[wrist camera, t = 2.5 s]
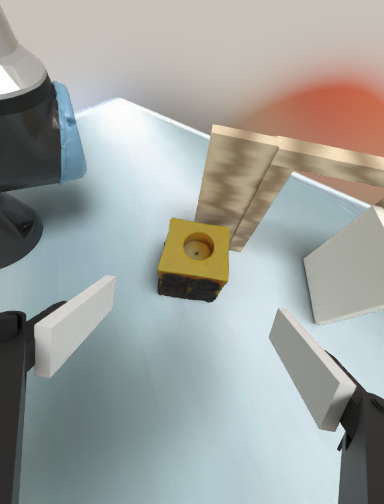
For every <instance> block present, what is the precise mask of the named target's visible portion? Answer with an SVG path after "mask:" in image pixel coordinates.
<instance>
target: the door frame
mask: <svg viewBox="0 0 384 504" xmlns="http://www.w3.org/2000/svg"><path fill="white" fill-rule="evenodd" d="M294 169H296V170H300V171H305V172H310V173H315V174H320V175H325V176H330V177H334V178H339V179H344V180H349V181H354V182H359V183H364V184H369V185H373V186H378V187H383V188H384V158H383V157H378V156H373V155H369V154H364V153H359V152H354V151H350V150H345V149H340V148H335V147H330V146H325V145H320V144H315V143H311V142H306V141H301V140H296V139H292V138H287V137H282V136H276V137H272V136H267V135H262V134H258V133H253V132H248V131H243V130H238V129H234V128H229V127H224V126H219V125H213V127H212V132H211V137H210V142H209V148H208V153H207V158H206V164H205V169H204V174H203V179H202V185H201V190H200V195H199V200H198V206H197V211H196V216H195V221H194V222H196V223H202V224H208V225H215V226H223V227H228V228H229V229H230V239H229V250H233V251H238V252H241V250H242V249H243V247H244V246H245V244H246V243H247V241H248V240H249V238H250V237H251V235H252V234H253V232H254V230H255V229H256V227H257V226H258V224H259V223H260V221H261V220H262V218H263V217H264V215H265V214H266V212H267V210H268V209H269V207H270V206H271V204H272V203H273V201H274V200H275V198H276V197H277V195H278V194H279V192H280V190H281V189H282V187H283V186H284V184H285V183H286V181H287V180H288V178H289V177H290V175H291V174H292V172H293V170H294ZM374 206H379V207H383V209H384V198H383V199H382V200H380V201H379V202H378V203H376V204H375V205H374Z"/></svg>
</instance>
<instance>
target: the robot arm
mask: <svg viewBox="0 0 384 504" xmlns="http://www.w3.org/2000/svg"><path fill="white" fill-rule="evenodd" d="M86 171H87V165H86V160H85V156H84V151H83V147H82V143H81V139H80V135H79V132H78V128H77V125H76V120H75V116H74V112H73V108H72V104H71V100H70V97H69V93H68V90H67V88H66V86H65V85H64V84H62V83H58V82H57V81H53V82H52V83H51V80H50V78H49V76H48V73H47V71H46V69H45V66H44V64H43V63H42V61H41V60H40V59H39V58H37V57H36V56H35V55H33V54H32V53H31V52H30V51H28V50H27V49H26V48H24V47H23V46H22V45H21V44H19V42H18V41H17V40H16V38H15V36H14V34H13V31H12V30H11V27H10V25H9V23H8V21H7V19H6V17H5V15H4V12H3V10H2V8H1V6H0V268H2V267H5V266H7V265H10V264H12V263H14V262H16V261H17V260H19V259H20V258H22V257H23V256H25V255H26V254H27V253H28V252H30V251H31V250H32V249H33V248H34V246H35V245H36V244H37V242H38V241H39V239H40V237H41V234H42V230H43V226H42V221H41V219H40V218H39V216H38V215H37V214H36V213H35V212H34V211H33V210H32V209H31V208H30V207H29V206H28V205H26V204H24V203H23V202H21V201H19V200H17V199H16V198H14V197H12V196H10V195H9V194H7V193H5V191H12V190H18V189H24V188H30V187H37V186H43V185H49V184H55V183H59V184H62V183H64V182H65V181H69V180H74V179H79V178H82V177H83V176H84V175H85V174H86ZM115 283H116V277H115V276H110V275H106V276H104V277H103V278H101V279H100V280H99V281H97V282H96V283H94V284H93V285H91V286H90V287H88V288H87V289H86V290H84V291H83V292H81V293H80V294H78V295H77V296H75V297H74V298H73V299H71V300H70V301H68V302H67V301H61V302H59V303H56V304H53V305H52V306H50V307H49V308H47V309H46V310H44V311H42V312H41V313H40V314H38V315H36V316H35V317H33V318H31V319H30V320H28V321H27V322H26V314H25V313H23V312H21V311H6V312H1V313H0V504H18V503H19V488H20V472H21V457H22V441H23V426H24V410H25V395H26V379H27V372H28V371H29V370H30V369H31V368H32V367H33V366H34V375H35V376H40V377H45V378H51V377H52V376H53V375H54V373H55V372H56V371H57V370H58V369H59V368H60V367H61V366H62V364H63V363H64V362H65V361H66V360H67V359H68V358H69V357H70V355H71V354H72V353H73V352H74V351H75V350H76V349H77V348H78V346H79V345H80V344H81V343H82V342H83V341H84V340H85V339H86V337H87V336H88V335H89V334H90V333H91V332H92V331H93V330H94V328H95V327H96V326H97V325H98V324H99V323H100V322H101V321H102V319H103V318H104V317H105V316H106V315H107V314H108V313H109V312H110V310H111V309H112V308H113V302H114V292H115ZM269 339H270V341H271V343H272V344H273V346H274V348H275V350H276V352H277V354H278V355H279V357H280V359H281V361H282V363H283V364H284V366H285V368H286V370H287V372H288V373H289V375H290V377H291V379H292V381H293V382H294V384H295V386H296V388H297V390H298V391H299V393H300V395H301V397H302V399H303V400H304V402H305V404H306V406H307V408H308V409H309V411H310V413H311V415H312V417H313V419H314V420H315V422H316V424H317V426H318V428H319V429H321V430H327V431H332V432H335V431H336V429H337V427H338V425H339V422H340V423H341V425H342V426H343V428H344V429H345V431H346V432H345V434H344V436H343V438H342V440H341V442H340V444H339V446H338V448H337V450H339V451H340V450H341V449H342V456H341V470H340V484H339V498H338V504H384V399H383V398H381V397H379V396H377V395H375V394H372V393H368V392H367V391H366V390H365V389H364V388H363V387H362V386H361V385H360V384H359V383H358V382H357V381H356V380H355V379H354V377H353V376H352V375H351V374H350V373H349V372H347V370H346V369H345V368H344V367H343V366H342V365H341V363H340V362H339V361H338V360H337V359H336V358H335V357H334V356H332V355H331V354H330V353H328V352H327V351H326V350H324V349H323V348H322V347H321V346H320V345H319V344H318V343H317V342H316V341H315V339H314V338H313V337H312V336H311V335H310V334H309V333H308V332H307V331H306V329H305V328H304V327H303V326H302V325H301V324H300V323H299V322H298V321H297V320H296V318H295V317H294V316H293V315H292V314H291V313H290V312H289V311H288V310H286V309H281V308H278V310H277V313H276V317H275V320H274V323H273V326H272V329H271V332H270V335H269Z"/></svg>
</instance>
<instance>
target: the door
mask: <svg viewBox="0 0 384 504" xmlns="http://www.w3.org/2000/svg"><path fill="white" fill-rule="evenodd" d="M304 264H305V270H306V275H307V281H308V286H309V291H310V297H311V302H312V308H313V313H314V318H315V323H316V324H321V325H326V324H330V323H334V322H337V321H341V320H345V319H349V318H353V317H357V316H361V315H365V314H369V313H374V312H377V311H381V310H384V209H383V207H379V206H374V205H372V206H371V207H370V208H368V209H367V210H366V211H365V212H363V213H362V214H361V215H359V216H358V217H357V218H356V219H354V220H353V221H352V222H350V223H349V224H348V225H347V226H345V227H344V228H343V229H341V230H340V231H339V232H337V233H336V234H335V235H334V236H332V237H331V238H330V239H328V240H327V241H326V242H325V243H323V244H322V245H321V246H319V247H318V248H317V249H316V250H314V251H313V252H312V253H310V254H309V255H308V256H307V257H305V258H304Z"/></svg>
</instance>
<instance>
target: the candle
mask: <svg viewBox="0 0 384 504" xmlns="http://www.w3.org/2000/svg"><path fill="white" fill-rule="evenodd" d="M229 239H230V229H229V228H228V227H223V226H215V225H208V224H202V223H196V222H191V221H186V220H181V219H176V218H172V219H171V220H170V228H169V232H168V235H167V239H166V242H165V243H164V250H163V253H162V255H161V258H160V262H159V265H158V274H159V283H158V288H159V290H158V294H159V295H163V294H164V295H166V296H171V297H178V298H182V299H189V300H191V299H192V300H203V301H206V302H213V300H215V299H216V297H217V296H218V294H219V292H220V291H221V290H222V287H224V285H225V284H226V283H227V282H228V274H229V261H228V256H229Z"/></svg>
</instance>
